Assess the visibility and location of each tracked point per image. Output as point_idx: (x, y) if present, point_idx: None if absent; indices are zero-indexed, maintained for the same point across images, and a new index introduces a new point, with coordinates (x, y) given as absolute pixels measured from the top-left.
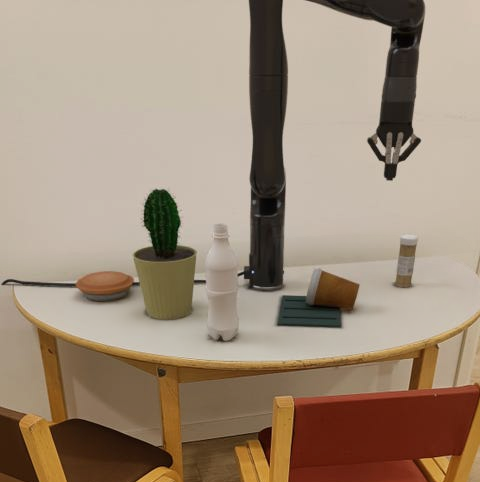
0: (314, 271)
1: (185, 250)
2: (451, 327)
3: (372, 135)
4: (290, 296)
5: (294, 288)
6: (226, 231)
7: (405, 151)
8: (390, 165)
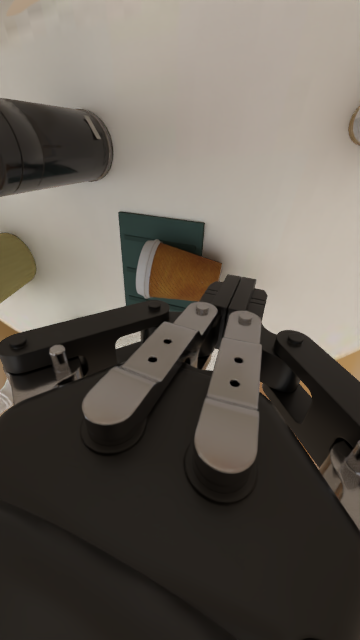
0: (138, 286)
1: None
2: (346, 351)
3: (14, 394)
4: (130, 219)
5: (132, 160)
6: (5, 408)
7: (307, 380)
8: (217, 345)
